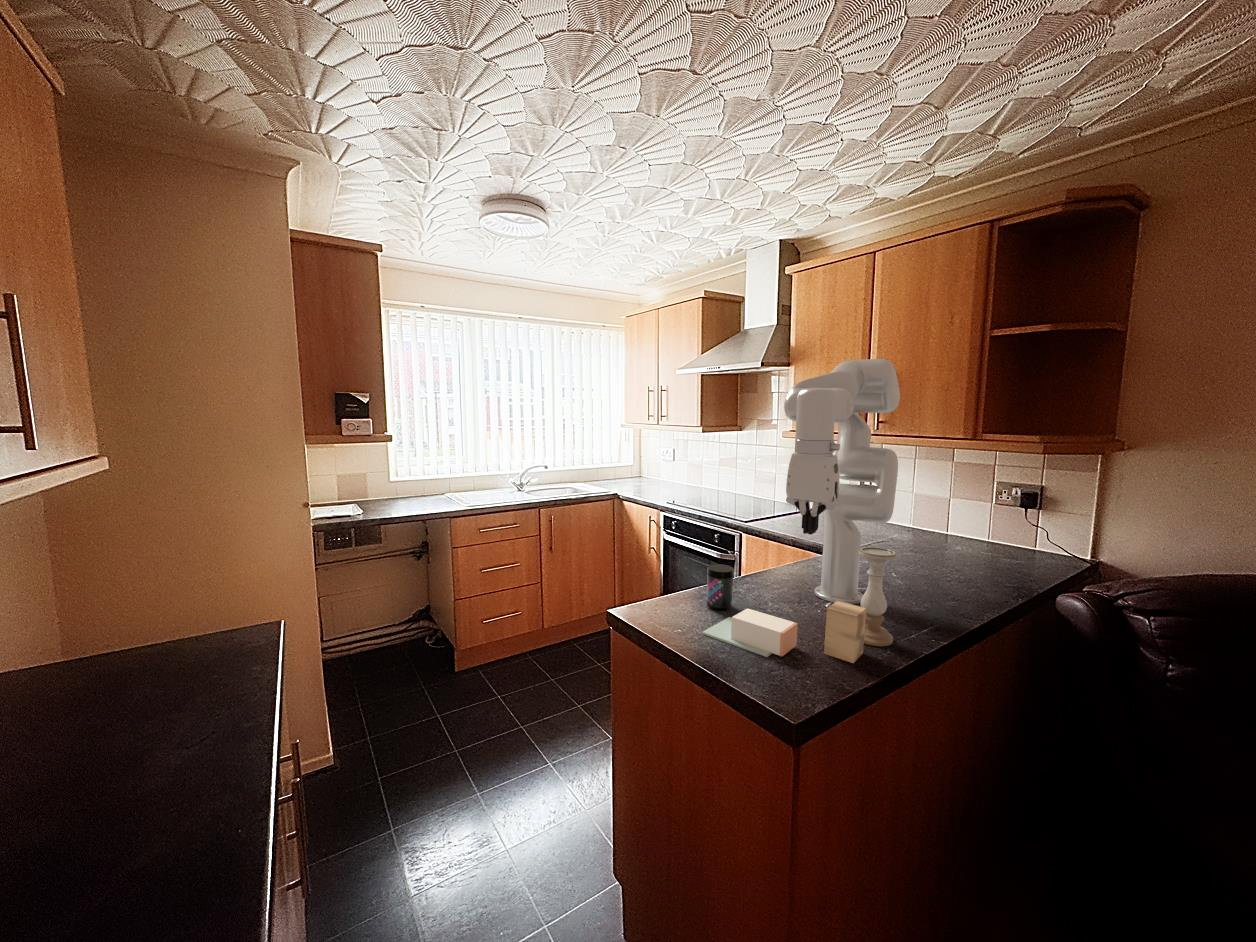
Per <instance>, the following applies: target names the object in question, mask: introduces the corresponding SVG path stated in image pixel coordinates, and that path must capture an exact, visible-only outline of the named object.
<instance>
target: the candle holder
mask: <svg viewBox="0 0 1256 942" xmlns="http://www.w3.org/2000/svg"><path fill="white" fill-rule="evenodd" d="M859 554H860V556H861V557H864V558H866V562H867V563H868V565H869V569H868V570H866V574H867V576H868V583H867V588H866V590H865V591H864V593H863V596H862V599H861V602H860V603H859V604H860V607H864V608H866V619H865V632H864V645H867V646H871V647H872V646H873V647H887V646H888V647H889V646H891V645H892V644H893V642H894V637H893V635H892V634H891V633H889V632H888V629H886V628H884V627H883V626H881V625H882V623H883V622H884V621H885V616H884V615H883V614H884V613H885V612H887V610H888V609H887V608H888V602H887V600H886V597H885V594H884V591H883V578H884V577H886V573H885V572H884V567H885V566H886V565H887V564H888V561H893V560H895V559H897V552H896V551H894V550H891V549H888V548H882V547H877V546H863V547H861V548H860V549H859Z"/></svg>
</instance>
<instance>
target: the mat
mask: <svg viewBox="0 0 1256 942" xmlns="http://www.w3.org/2000/svg"><path fill="white" fill-rule="evenodd" d="M732 617H733V616H732ZM732 617H731V616H728V617H727V618H724V619H723V620H721V621H719V622H718V623H715V624H714V625H712V626H710V627H708V628H707V629H705V630H703V631H702V632H701V634H702V635H704V636H707V637H709V638H712V639H715V640H718V641H721V642H723V643H726V644H729V645H732V646H734V647H738V648H740V649H743V650H745V651H749V652H751V653H754V654H757V655H760V656H762V657H765V658H768V657H769V656H771V655H772V654H773V653H770V652H768V651H765V650H762V649H759V648H756V647H753V646H750V645H748V644H745V643H742V642H739V641H736V640H733V639H731V626H732Z"/></svg>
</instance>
